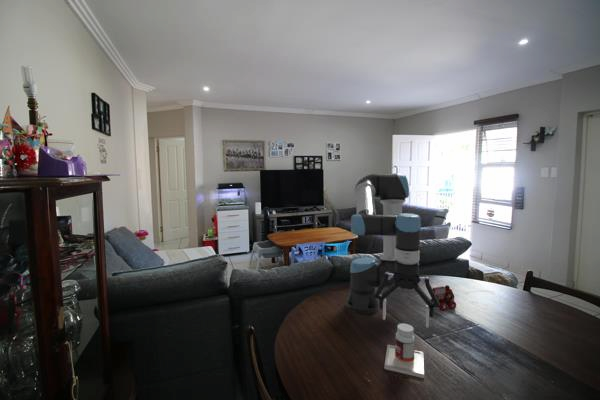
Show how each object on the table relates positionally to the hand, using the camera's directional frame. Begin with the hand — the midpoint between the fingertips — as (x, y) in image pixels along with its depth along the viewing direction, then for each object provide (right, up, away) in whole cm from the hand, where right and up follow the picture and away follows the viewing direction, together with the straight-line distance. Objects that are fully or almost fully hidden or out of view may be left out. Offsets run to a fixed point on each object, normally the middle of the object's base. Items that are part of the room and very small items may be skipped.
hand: (405, 321), depth 95 cm
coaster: (0, -14, +1) cm, 14 cm away
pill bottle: (0, -13, +1) cm, 13 cm away
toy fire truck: (+33, -10, +39) cm, 52 cm away
